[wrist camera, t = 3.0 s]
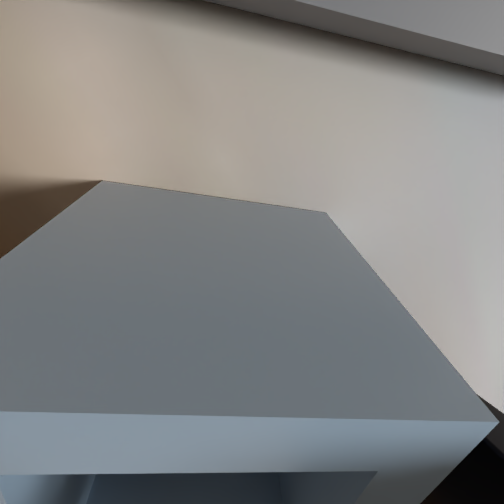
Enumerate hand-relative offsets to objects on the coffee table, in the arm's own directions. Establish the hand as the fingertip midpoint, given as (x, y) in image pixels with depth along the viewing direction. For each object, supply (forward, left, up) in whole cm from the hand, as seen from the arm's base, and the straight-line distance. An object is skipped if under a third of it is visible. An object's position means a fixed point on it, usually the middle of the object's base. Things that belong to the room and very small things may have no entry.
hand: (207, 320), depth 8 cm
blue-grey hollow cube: (0, 0, -2) cm, 2 cm away
